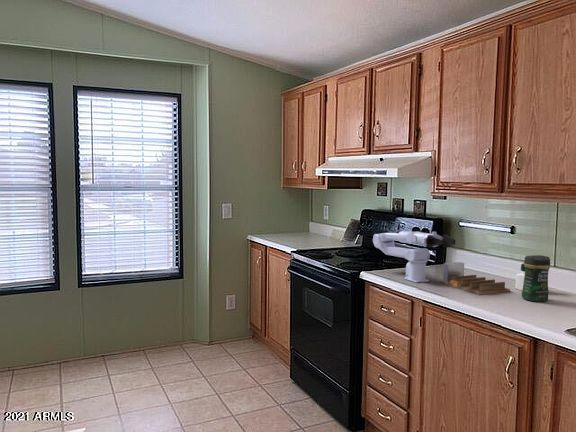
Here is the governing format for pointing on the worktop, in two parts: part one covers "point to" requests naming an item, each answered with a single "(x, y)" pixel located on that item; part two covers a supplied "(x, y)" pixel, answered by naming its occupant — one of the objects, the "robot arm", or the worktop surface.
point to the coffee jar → (536, 278)
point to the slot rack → (477, 284)
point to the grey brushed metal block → (452, 271)
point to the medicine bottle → (520, 278)
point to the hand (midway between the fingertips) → (448, 242)
